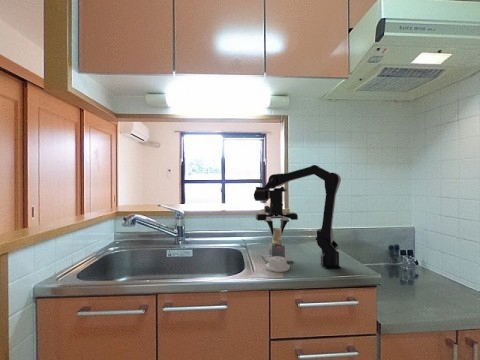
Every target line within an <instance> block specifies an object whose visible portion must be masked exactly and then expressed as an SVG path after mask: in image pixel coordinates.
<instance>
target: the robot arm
mask: <svg viewBox="0 0 480 360" xmlns="http://www.w3.org/2000/svg"><path fill="white" fill-rule="evenodd" d="M313 175H315V176H316V177H318V178H319V179H321V180H323V182H324V189H325V198H324V199H325V201H324V206H323V207H324V208H323V214H322V215H323V216H322V217H323V218H322V224H321V228H318V229H317V230H316V238H315V241H316V243H317V245H318V247H319V248H320V250H321V254H320V265H321V266H322V267H324V269H342V266H340V252H339V251H338V250H339V246H340V245H339V244H338V242H336V241H335V240H334V231H333V222H334V221H333V220H334V213H335V212H334V211H335V205H336V196H337V193H338V190H339V188H340V184H341V180H342V178H341V176H340V174H338V173H336V172H329V171H328V170H326V169H324V168H322V167H320V166H319V165H316V164H312V165H311V166H308V167H304V168H300V169H296V170H294V171H293V170H292V171H290V172H286V173H285V172H284V173H274V174H271V175H269V177H268V180H267V183H266V184H265V185H264V186H263V187H262V186H255V189H254V192H253V199H254V201H255V202H268V201H270V202H269V205H265V206H264V209H263V211H264V212H256V214H255V220H257V221H264V222H265V223H267V224H268V225H267V226H268V228H269V231H270V233H271V236H272V235H273V228H274V224H273V220H272V219H280V220H279V221H280V227H279V228H281V236H282V235H283V233H284V230H285V227H286V225H287V223H289V222H290V220H291V221H293V220H296V221H297V220H298V219H299V217H298V216H299V215H298V213H297V212H296V213H295V212H294V211H293V212H286V213H283V212H284V211H283V207H284V204H283V203H284V202H283V193H284V192H287V191H288V190H287V189H286V188H285V187H284V185H286V184H288V183H289V182H291V181H295V180H299V179H302V178H306V177H309V176H313Z"/></svg>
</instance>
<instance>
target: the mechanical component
mask: <svg viewBox="0 0 480 360" xmlns="http://www.w3.org/2000/svg"><path fill="white" fill-rule="evenodd" d="M268 259H269V262H268V263H267V264H266V263H265V269H266V270H267V271H268V272H269V271H270V272H276V273H277V272H278V273H280V272H281V273H282V272H288V271H289V270H290V269H291V268H290V266H291V265H290V263H287V259H286V258H284V257H280V256H274V257H270V258H268Z"/></svg>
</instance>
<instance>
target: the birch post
mask: <svg viewBox="0 0 480 360" xmlns="http://www.w3.org/2000/svg"><path fill="white" fill-rule="evenodd" d="M282 239H283V238H282V235H281V228H280V227H273V235H272V234H271V243H272V245H273V246H277V245H282V244H283V242H282Z"/></svg>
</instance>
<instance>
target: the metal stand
mask: <svg viewBox="0 0 480 360" xmlns="http://www.w3.org/2000/svg"><path fill="white" fill-rule="evenodd" d="M274 256H280V257H284V258H286V259H287V264H294V259H292V257H290V256H289V255H288V254H287V253H286V246H285V244H283V243H282V245H277V246H273V245H272V242H269V243H268V253H267V254H265V253H264V254H263V253H262V254H261V258H262V259H263V261H264V262H265V265H266V264H267V263H268V262H269V259H268V258H270V257H274Z"/></svg>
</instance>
